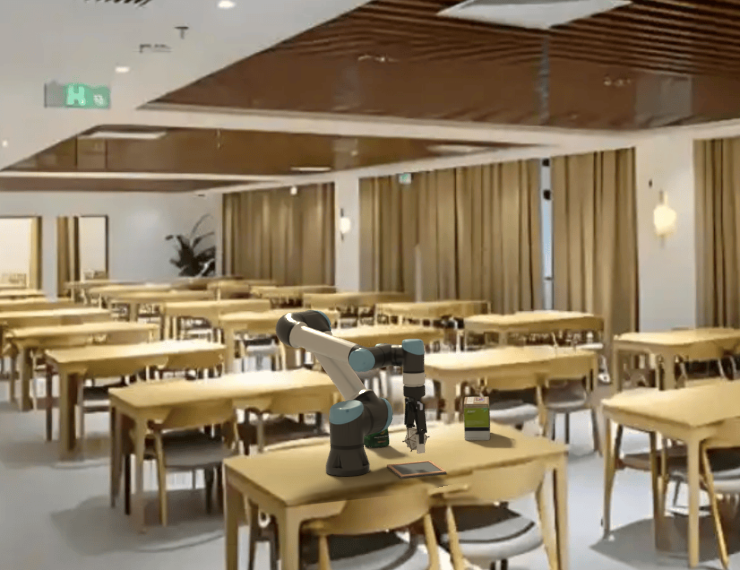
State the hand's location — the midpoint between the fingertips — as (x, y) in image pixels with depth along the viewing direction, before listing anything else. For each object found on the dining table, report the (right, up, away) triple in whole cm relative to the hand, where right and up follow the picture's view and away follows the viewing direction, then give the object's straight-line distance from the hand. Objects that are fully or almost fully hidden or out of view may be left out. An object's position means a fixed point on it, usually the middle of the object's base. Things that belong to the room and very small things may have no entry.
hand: (416, 449), depth 312 cm
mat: (0, -7, 0) cm, 7 cm away
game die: (0, 0, 0) cm, 0 cm away
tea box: (+27, -4, +51) cm, 58 cm away
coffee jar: (-13, -6, +38) cm, 41 cm away
